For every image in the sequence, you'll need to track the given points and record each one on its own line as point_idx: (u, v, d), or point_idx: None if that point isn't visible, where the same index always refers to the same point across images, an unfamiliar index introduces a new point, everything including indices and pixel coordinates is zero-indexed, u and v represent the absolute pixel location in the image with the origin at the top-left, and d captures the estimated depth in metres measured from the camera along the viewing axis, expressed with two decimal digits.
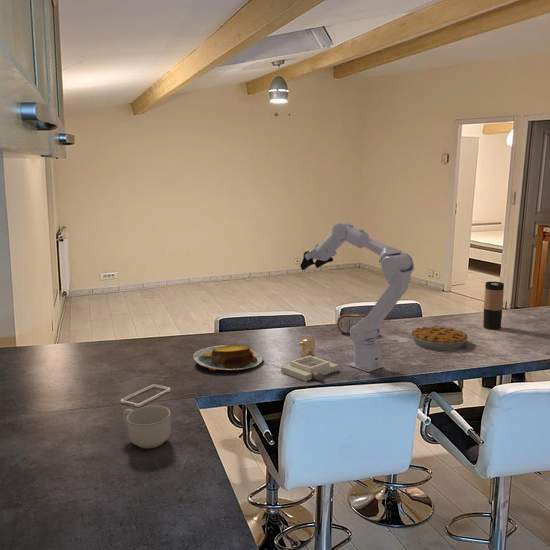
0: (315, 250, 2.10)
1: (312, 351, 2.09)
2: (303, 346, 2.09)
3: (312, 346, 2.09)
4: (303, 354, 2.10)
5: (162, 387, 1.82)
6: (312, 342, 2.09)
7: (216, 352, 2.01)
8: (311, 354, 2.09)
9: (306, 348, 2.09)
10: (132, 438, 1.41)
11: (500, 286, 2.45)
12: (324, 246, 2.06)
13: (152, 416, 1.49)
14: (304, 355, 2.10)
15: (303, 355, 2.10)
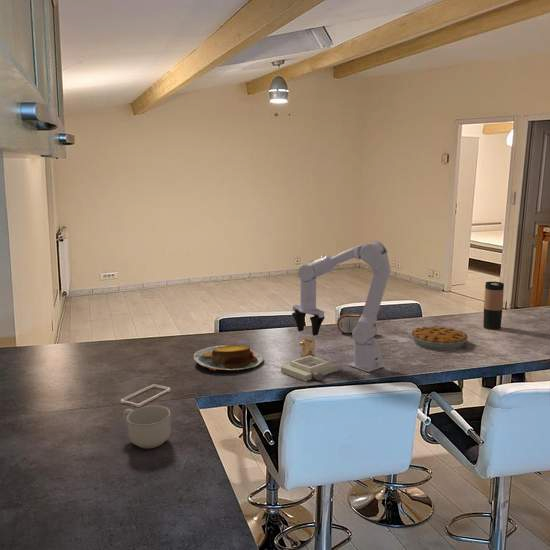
0: (310, 310, 2.06)
1: (312, 351, 2.09)
2: (303, 346, 2.09)
3: (312, 346, 2.09)
4: (303, 354, 2.10)
5: (162, 387, 1.82)
6: (312, 342, 2.09)
7: (216, 352, 2.01)
8: (311, 354, 2.09)
9: (306, 348, 2.09)
10: (132, 438, 1.41)
11: (500, 286, 2.45)
12: (305, 297, 2.05)
13: (152, 416, 1.49)
14: (304, 355, 2.10)
15: (303, 355, 2.10)
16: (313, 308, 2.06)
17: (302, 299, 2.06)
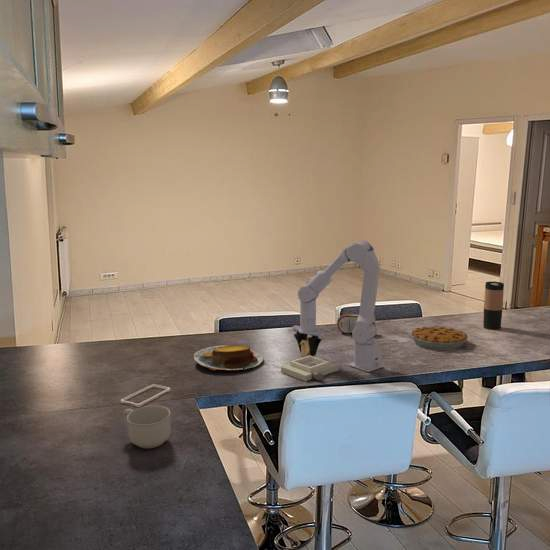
0: (310, 331, 2.07)
1: None
2: (303, 346, 2.09)
3: None
4: (303, 354, 2.10)
5: (162, 387, 1.82)
6: None
7: (216, 352, 2.01)
8: None
9: (306, 348, 2.09)
10: (132, 438, 1.41)
11: (500, 286, 2.45)
12: (305, 318, 2.07)
13: (152, 416, 1.49)
14: (304, 355, 2.10)
15: (303, 355, 2.10)
16: (313, 329, 2.08)
17: (302, 320, 2.08)
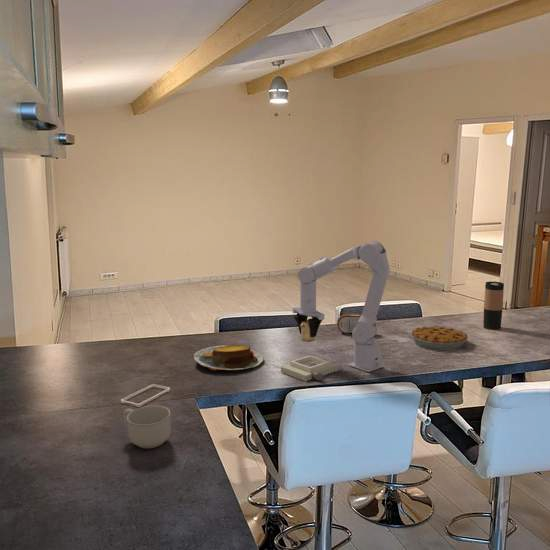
0: (310, 312, 2.06)
1: None
2: (303, 328, 2.08)
3: None
4: (303, 336, 2.09)
5: (162, 387, 1.82)
6: None
7: (217, 352, 2.01)
8: None
9: (306, 330, 2.07)
10: (132, 438, 1.41)
11: (500, 286, 2.45)
12: (305, 299, 2.05)
13: (152, 416, 1.49)
14: (304, 337, 2.08)
15: (303, 337, 2.09)
16: (313, 310, 2.06)
17: (302, 301, 2.06)
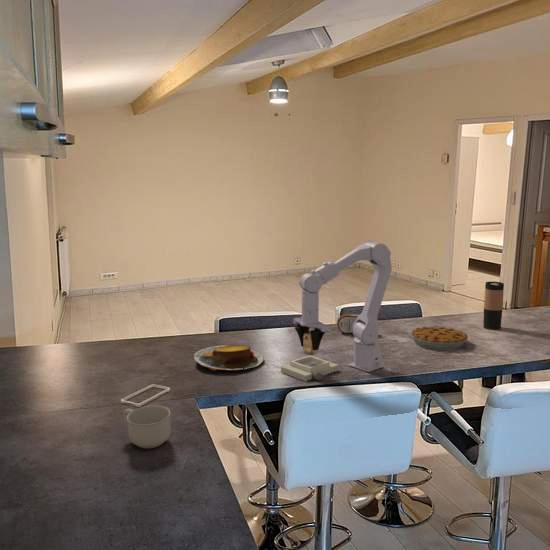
0: (312, 324, 1.91)
1: None
2: (306, 340, 1.93)
3: None
4: (306, 349, 1.94)
5: (162, 387, 1.82)
6: None
7: (217, 352, 2.01)
8: None
9: (309, 342, 1.93)
10: (132, 438, 1.41)
11: (500, 286, 2.45)
12: (313, 309, 1.91)
13: (152, 416, 1.49)
14: (307, 350, 1.94)
15: (306, 350, 1.94)
16: (315, 321, 1.92)
17: (304, 312, 1.92)
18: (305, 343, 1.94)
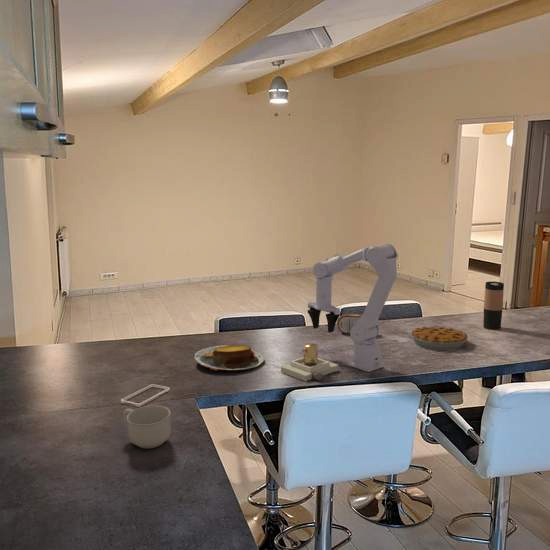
0: (326, 307, 2.08)
1: (315, 358, 1.95)
2: (306, 353, 1.94)
3: (316, 352, 1.94)
4: (306, 361, 1.95)
5: (161, 387, 1.82)
6: (316, 348, 1.94)
7: (217, 352, 2.01)
8: (315, 361, 1.95)
9: (309, 355, 1.94)
10: (132, 438, 1.41)
11: (500, 286, 2.45)
12: (319, 294, 2.08)
13: (152, 416, 1.49)
14: (307, 362, 1.94)
15: (306, 362, 1.95)
16: (328, 305, 2.09)
17: (318, 296, 2.08)
18: (305, 356, 1.95)
